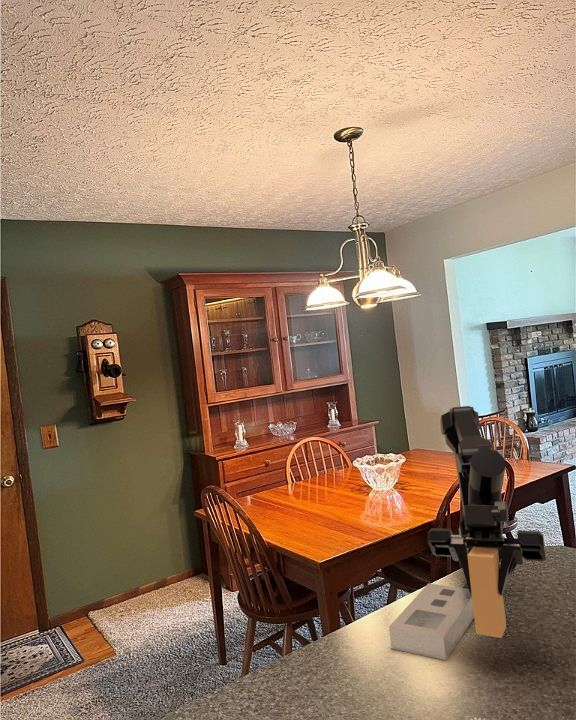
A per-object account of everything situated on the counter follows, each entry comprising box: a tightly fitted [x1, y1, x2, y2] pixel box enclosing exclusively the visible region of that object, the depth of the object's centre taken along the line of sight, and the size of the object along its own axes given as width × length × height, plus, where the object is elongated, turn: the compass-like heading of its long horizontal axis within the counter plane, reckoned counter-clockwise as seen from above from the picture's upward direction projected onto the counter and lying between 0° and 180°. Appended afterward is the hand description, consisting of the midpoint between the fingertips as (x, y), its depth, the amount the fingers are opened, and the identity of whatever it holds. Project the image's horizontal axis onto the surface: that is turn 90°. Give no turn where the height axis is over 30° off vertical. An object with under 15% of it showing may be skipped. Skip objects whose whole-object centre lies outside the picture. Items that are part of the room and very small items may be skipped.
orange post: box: [467, 547, 507, 639], centre depth 94 cm, size 4×4×13 cm
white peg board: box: [388, 583, 474, 661], centre depth 107 cm, size 20×10×4 cm, turn 146°
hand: (485, 593), depth 92 cm, fingers closed on orange post, 4 cm apart
